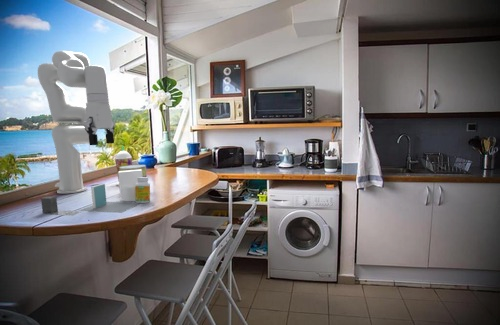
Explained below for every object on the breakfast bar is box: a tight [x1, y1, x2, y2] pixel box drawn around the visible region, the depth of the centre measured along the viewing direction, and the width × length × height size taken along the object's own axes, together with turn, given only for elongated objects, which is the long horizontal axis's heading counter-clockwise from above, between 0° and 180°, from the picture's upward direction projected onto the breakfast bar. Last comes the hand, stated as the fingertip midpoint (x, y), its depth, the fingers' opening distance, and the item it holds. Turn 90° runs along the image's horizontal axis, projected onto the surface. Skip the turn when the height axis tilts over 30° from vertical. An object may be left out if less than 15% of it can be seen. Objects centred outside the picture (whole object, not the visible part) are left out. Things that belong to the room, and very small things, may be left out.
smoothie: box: [114, 145, 133, 182], centre depth 166 cm, size 8×8×20 cm
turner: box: [40, 196, 85, 217], centre depth 112 cm, size 14×5×6 cm, turn 76°
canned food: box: [119, 164, 148, 177], centre depth 143 cm, size 11×11×12 cm
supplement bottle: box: [134, 176, 151, 204], centre depth 124 cm, size 5×5×10 cm
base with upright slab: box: [117, 169, 142, 202], centre depth 130 cm, size 9×9×12 cm
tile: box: [90, 183, 108, 208], centre depth 119 cm, size 1×6×8 cm, turn 166°
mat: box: [77, 201, 143, 214], centre depth 118 cm, size 18×13×1 cm
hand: (102, 144), depth 124 cm, fingers open, 9 cm apart
